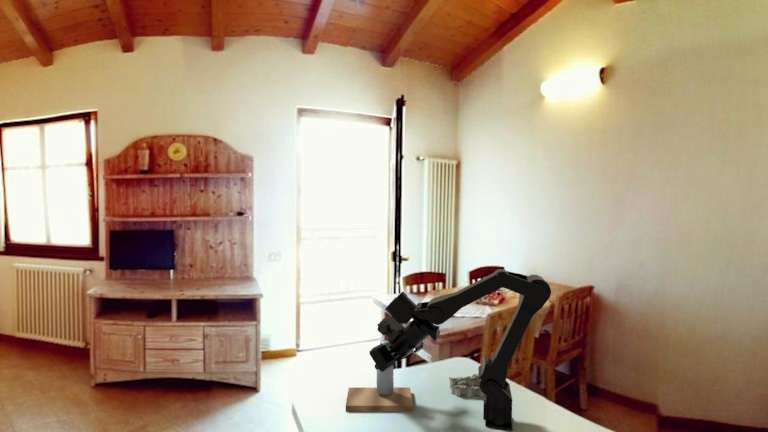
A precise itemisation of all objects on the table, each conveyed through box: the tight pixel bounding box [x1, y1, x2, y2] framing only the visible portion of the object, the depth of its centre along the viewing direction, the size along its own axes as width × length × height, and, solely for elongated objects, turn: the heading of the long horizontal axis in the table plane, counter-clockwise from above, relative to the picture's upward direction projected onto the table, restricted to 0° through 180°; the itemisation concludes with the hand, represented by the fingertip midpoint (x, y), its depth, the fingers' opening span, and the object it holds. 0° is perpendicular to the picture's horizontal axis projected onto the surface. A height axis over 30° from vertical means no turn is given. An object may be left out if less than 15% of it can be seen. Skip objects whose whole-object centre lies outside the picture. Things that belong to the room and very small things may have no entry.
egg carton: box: [448, 373, 486, 398], centre depth 115 cm, size 11×8×4 cm
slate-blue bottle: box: [376, 339, 395, 395], centre depth 110 cm, size 5×5×14 cm
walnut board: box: [345, 386, 414, 412], centre depth 109 cm, size 18×10×2 cm, turn 90°
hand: (381, 364), depth 111 cm, fingers closed on slate-blue bottle, 5 cm apart
